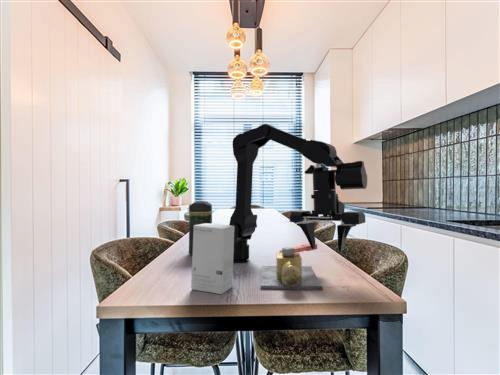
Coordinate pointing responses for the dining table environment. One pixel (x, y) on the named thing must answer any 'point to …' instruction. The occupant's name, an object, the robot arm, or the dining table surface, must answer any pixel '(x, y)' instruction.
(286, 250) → the lever
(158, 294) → the dining table surface
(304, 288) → the valve body
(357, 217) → the robot arm
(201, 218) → the coffee jar
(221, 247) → the skincare box
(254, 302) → the dining table surface
